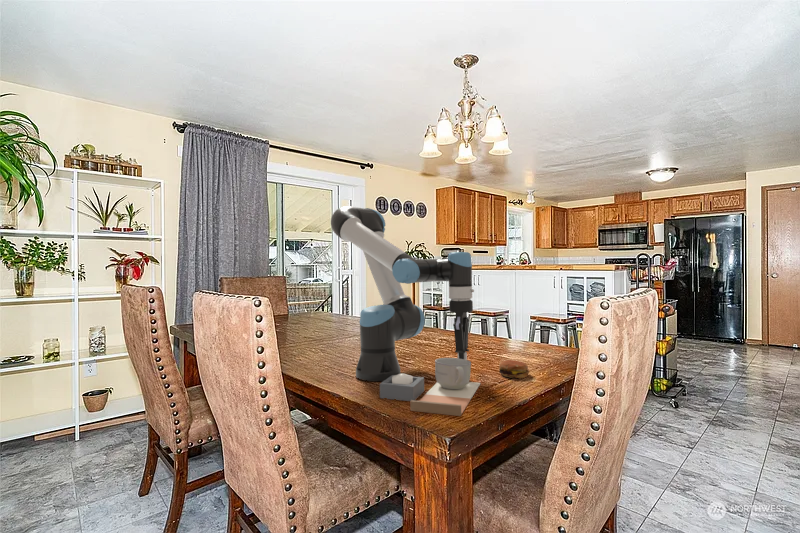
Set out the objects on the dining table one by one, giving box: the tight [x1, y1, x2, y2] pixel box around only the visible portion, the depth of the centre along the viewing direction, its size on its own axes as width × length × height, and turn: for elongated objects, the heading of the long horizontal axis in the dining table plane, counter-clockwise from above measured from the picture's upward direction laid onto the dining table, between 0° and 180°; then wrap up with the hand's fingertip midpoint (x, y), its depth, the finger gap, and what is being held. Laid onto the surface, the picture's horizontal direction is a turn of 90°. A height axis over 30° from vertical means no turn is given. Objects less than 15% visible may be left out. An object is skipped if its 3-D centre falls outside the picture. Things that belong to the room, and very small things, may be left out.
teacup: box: [434, 357, 472, 389], centre depth 124 cm, size 14×11×8 cm
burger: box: [498, 359, 530, 379], centre depth 138 cm, size 10×9×5 cm
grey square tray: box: [379, 375, 425, 402], centre depth 120 cm, size 10×10×4 cm
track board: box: [409, 381, 481, 417], centre depth 118 cm, size 13×29×2 cm, turn 160°
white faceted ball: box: [392, 372, 414, 385], centre depth 120 cm, size 6×6×6 cm
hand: (462, 372), depth 135 cm, fingers closed
